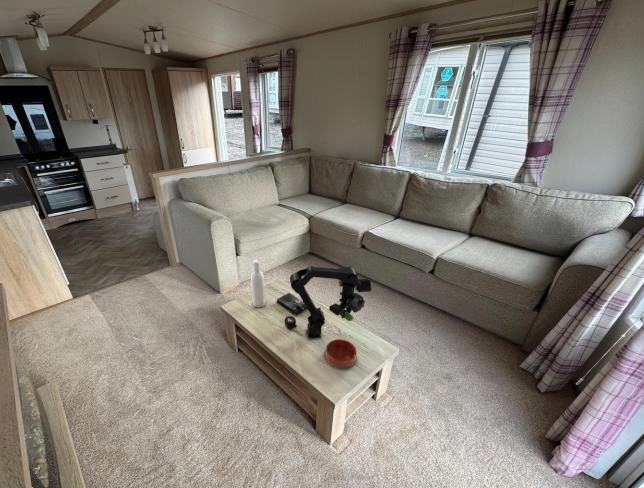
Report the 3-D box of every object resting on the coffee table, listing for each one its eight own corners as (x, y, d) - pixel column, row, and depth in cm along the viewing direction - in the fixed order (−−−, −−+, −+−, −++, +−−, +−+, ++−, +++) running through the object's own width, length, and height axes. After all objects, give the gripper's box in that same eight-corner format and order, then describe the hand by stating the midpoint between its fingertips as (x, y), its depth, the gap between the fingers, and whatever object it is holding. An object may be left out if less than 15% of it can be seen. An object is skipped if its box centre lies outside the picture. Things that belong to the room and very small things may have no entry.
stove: (309, 309, 177) (309, 305, 176) (297, 316, 172) (297, 312, 171) (289, 295, 189) (288, 292, 188) (277, 302, 184) (276, 298, 183)
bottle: (251, 307, 181) (247, 264, 165) (254, 299, 188) (250, 257, 172) (264, 308, 180) (261, 265, 164) (266, 300, 186) (264, 258, 171)
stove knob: (303, 306, 176) (303, 300, 173) (298, 309, 174) (298, 303, 171) (299, 303, 178) (299, 297, 176) (294, 306, 176) (294, 300, 174)
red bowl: (329, 370, 139) (329, 362, 136) (322, 347, 151) (323, 340, 148) (359, 367, 139) (360, 360, 137) (350, 345, 151) (351, 338, 149)
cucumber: (349, 323, 150) (350, 318, 148) (336, 314, 156) (336, 309, 154) (354, 320, 151) (355, 315, 149) (341, 311, 158) (341, 306, 156)
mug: (281, 326, 165) (281, 316, 161) (289, 321, 169) (289, 311, 165) (297, 337, 157) (297, 327, 153) (305, 332, 161) (305, 321, 157)
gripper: (346, 307, 135) (343, 333, 143) (374, 292, 144) (369, 317, 152) (329, 295, 143) (327, 320, 151) (356, 282, 152) (353, 306, 160)
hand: (345, 316), depth 154 cm, fingers closed on cucumber, 3 cm apart
